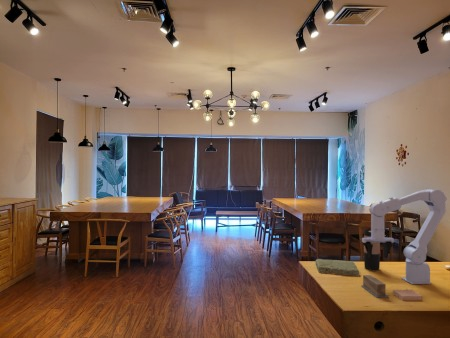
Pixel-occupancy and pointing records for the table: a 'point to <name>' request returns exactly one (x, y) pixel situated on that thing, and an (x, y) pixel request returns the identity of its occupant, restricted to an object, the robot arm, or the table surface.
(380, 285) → the brown wooden plank
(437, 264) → the table surface
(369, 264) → the travel mug
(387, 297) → the mat
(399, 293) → the tile
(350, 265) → the decorative tile
